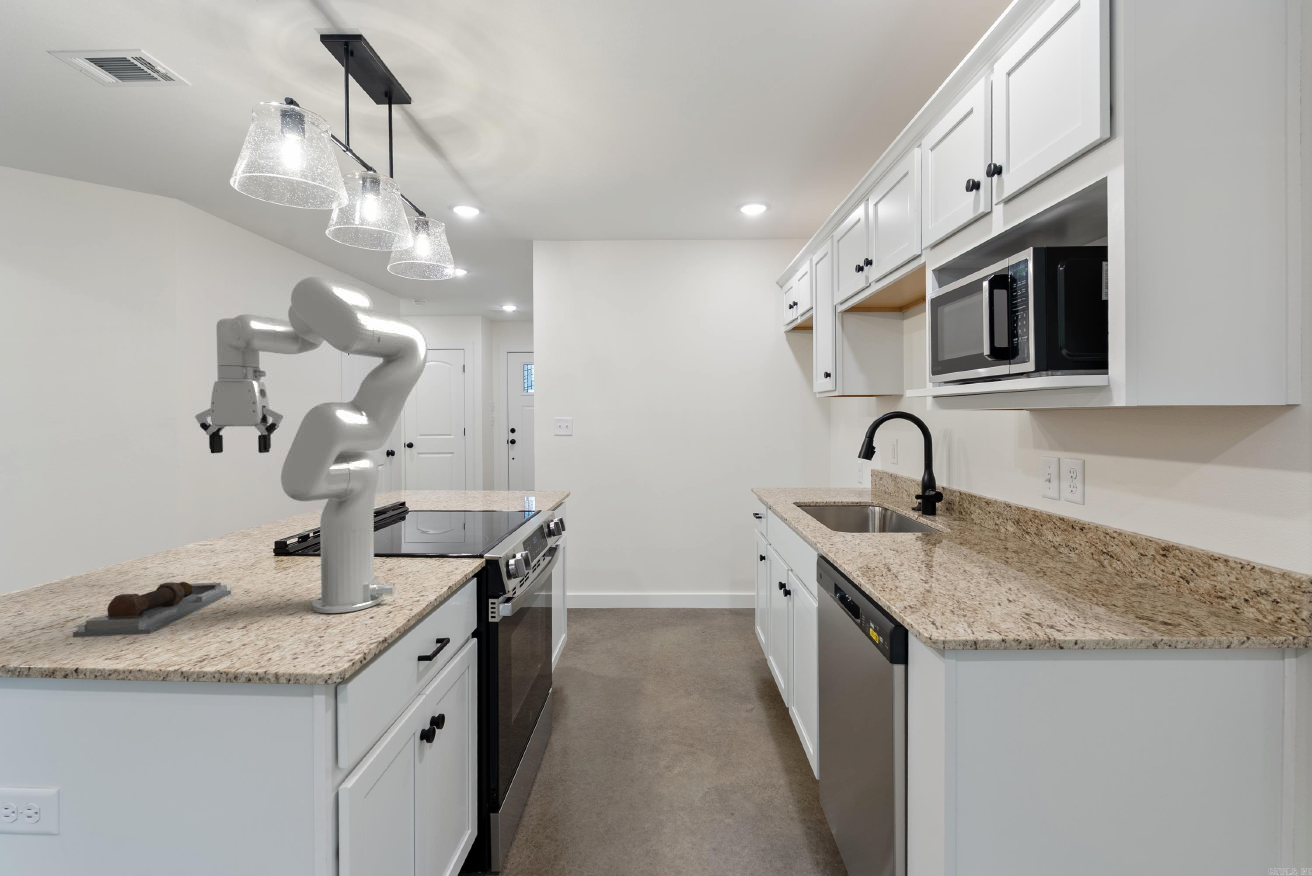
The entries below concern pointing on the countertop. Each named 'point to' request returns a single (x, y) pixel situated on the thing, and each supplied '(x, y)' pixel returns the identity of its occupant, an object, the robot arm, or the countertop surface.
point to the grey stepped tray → (183, 609)
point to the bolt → (149, 599)
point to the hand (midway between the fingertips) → (240, 452)
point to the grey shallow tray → (143, 621)
